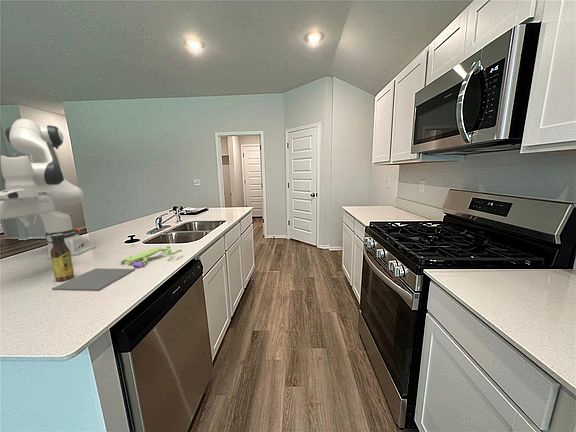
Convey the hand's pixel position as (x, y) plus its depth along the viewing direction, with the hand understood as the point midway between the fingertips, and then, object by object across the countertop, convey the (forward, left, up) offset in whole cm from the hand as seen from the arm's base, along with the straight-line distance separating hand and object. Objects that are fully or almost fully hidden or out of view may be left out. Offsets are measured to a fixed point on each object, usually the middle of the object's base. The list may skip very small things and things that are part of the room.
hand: (30, 226), depth 102 cm
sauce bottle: (0, +11, -24) cm, 26 cm away
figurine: (-24, +36, -24) cm, 50 cm away
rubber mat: (0, +26, -24) cm, 35 cm away
